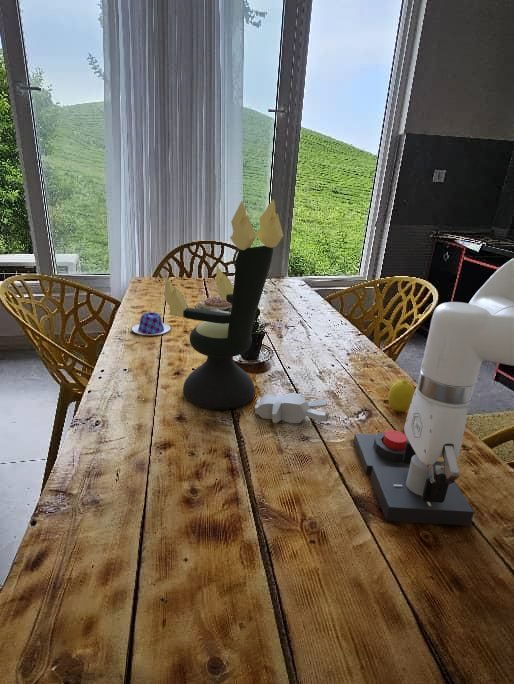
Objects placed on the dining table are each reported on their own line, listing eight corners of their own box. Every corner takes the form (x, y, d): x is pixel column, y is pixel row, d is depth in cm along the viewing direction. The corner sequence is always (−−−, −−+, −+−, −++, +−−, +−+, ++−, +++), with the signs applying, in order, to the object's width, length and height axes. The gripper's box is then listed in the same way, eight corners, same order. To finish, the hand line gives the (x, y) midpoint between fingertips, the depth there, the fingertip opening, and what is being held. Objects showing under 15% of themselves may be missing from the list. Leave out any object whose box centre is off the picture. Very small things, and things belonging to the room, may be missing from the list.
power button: (401, 438, 84) (403, 430, 84) (408, 451, 81) (410, 443, 80) (380, 437, 84) (381, 429, 84) (386, 449, 81) (388, 441, 80)
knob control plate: (443, 483, 78) (447, 468, 77) (469, 526, 69) (474, 511, 68) (369, 479, 78) (372, 464, 77) (385, 522, 69) (389, 506, 68)
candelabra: (214, 369, 117) (219, 189, 100) (288, 396, 105) (308, 197, 88) (164, 396, 102) (160, 192, 85) (243, 431, 91) (257, 202, 74)
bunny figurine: (259, 386, 100) (327, 389, 97) (260, 406, 102) (327, 409, 99) (251, 407, 92) (325, 410, 88) (253, 428, 94) (325, 432, 90)
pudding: (177, 333, 140) (176, 317, 138) (141, 340, 133) (140, 323, 132) (160, 321, 149) (160, 306, 147) (126, 327, 143) (125, 312, 141)
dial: (402, 477, 75) (408, 451, 73) (428, 478, 75) (435, 452, 73) (411, 495, 70) (417, 468, 68) (439, 497, 70) (446, 469, 68)
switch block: (413, 445, 88) (417, 428, 87) (432, 479, 79) (437, 460, 78) (353, 442, 89) (356, 425, 87) (365, 475, 79) (368, 457, 78)
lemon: (387, 416, 98) (393, 384, 95) (383, 404, 103) (389, 373, 100) (413, 419, 98) (420, 387, 94) (408, 407, 103) (415, 376, 100)
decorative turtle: (186, 304, 167) (186, 291, 166) (226, 300, 174) (227, 288, 172) (204, 320, 152) (204, 306, 150) (247, 315, 159) (248, 301, 157)
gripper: (401, 360, 74) (383, 447, 80) (443, 416, 58) (417, 519, 64) (446, 362, 73) (425, 449, 80) (501, 419, 57) (469, 522, 64)
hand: (421, 480), depth 72 cm, fingers open, 8 cm apart
